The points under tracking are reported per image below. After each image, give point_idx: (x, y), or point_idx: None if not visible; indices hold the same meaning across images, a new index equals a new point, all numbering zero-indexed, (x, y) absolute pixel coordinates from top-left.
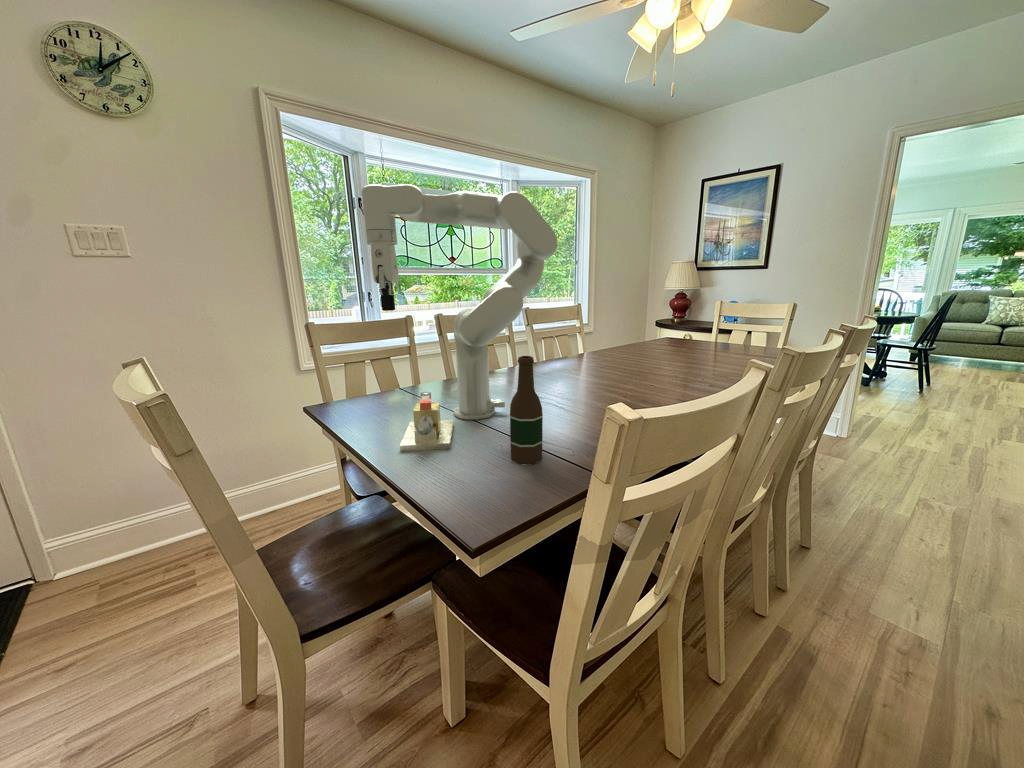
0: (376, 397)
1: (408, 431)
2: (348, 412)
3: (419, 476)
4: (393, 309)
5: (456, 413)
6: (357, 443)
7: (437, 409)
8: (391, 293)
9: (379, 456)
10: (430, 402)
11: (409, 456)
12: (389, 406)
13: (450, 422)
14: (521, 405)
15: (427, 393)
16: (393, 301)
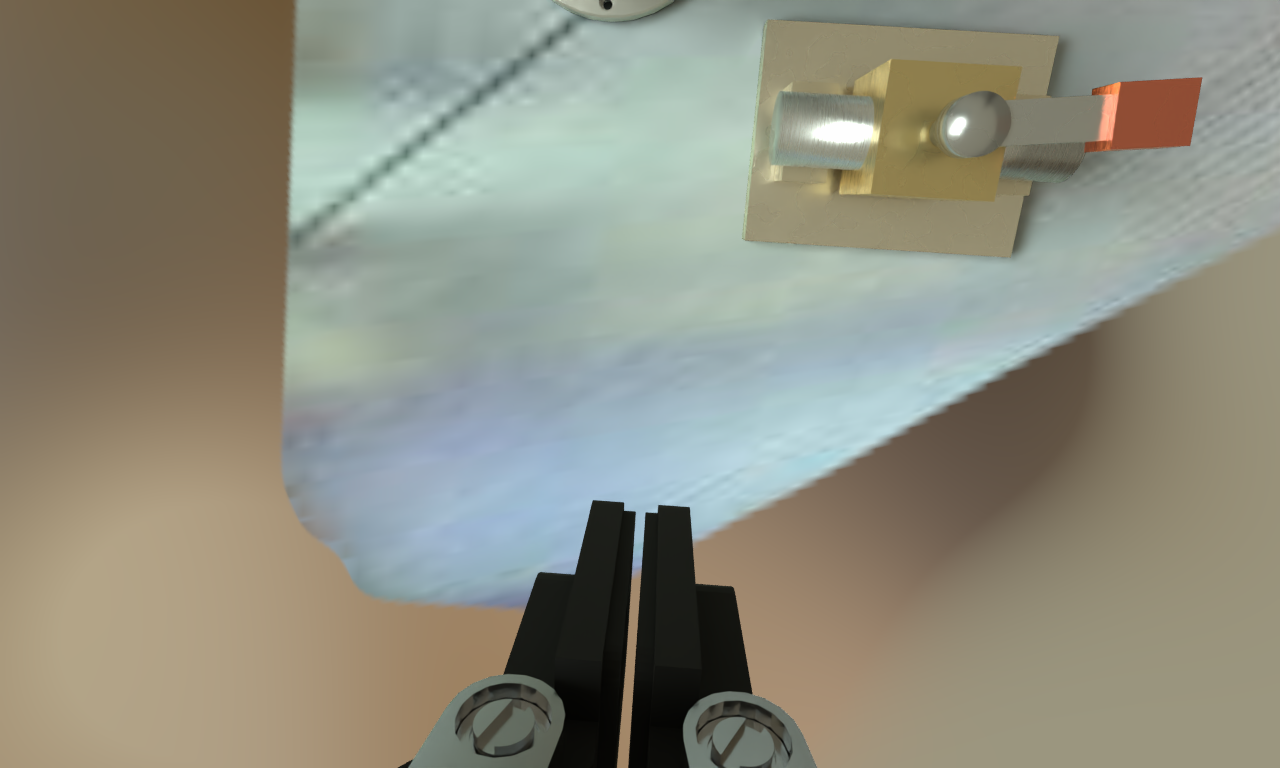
0: (306, 445)
1: (865, 236)
2: (512, 525)
3: (1242, 161)
4: (688, 515)
5: (662, 1)
6: (870, 426)
7: (1015, 66)
8: (694, 729)
9: (1017, 327)
10: (1199, 80)
11: (1057, 214)
12: (450, 366)
13: (803, 34)
14: None
15: (989, 112)
16: (681, 580)
